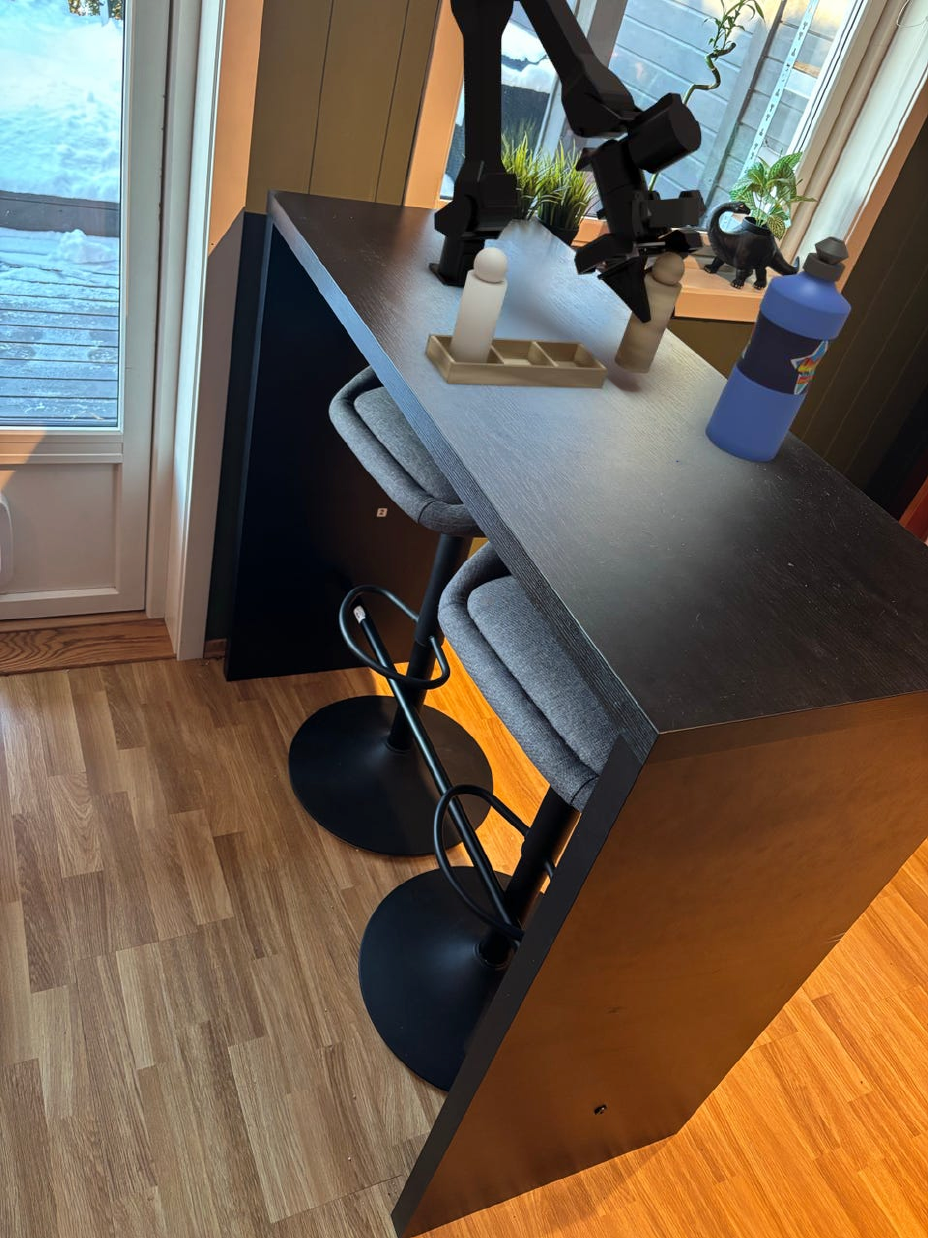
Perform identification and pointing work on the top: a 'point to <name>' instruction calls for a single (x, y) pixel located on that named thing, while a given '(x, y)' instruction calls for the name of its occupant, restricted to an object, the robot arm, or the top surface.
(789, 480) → the top surface
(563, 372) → the caddy
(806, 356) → the water bottle
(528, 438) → the top surface
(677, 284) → the pepper mill
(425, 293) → the top surface
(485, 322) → the salt mill
